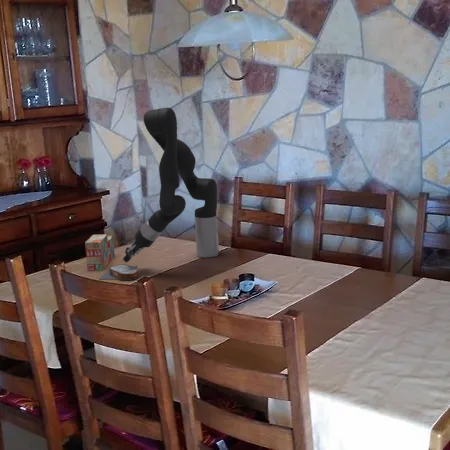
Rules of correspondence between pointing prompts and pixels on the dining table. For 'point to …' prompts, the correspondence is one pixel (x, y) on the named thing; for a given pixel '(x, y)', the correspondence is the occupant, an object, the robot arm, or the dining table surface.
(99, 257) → the stack of blocks
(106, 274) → the mat
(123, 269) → the tin
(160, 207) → the robot arm
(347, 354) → the dining table surface
